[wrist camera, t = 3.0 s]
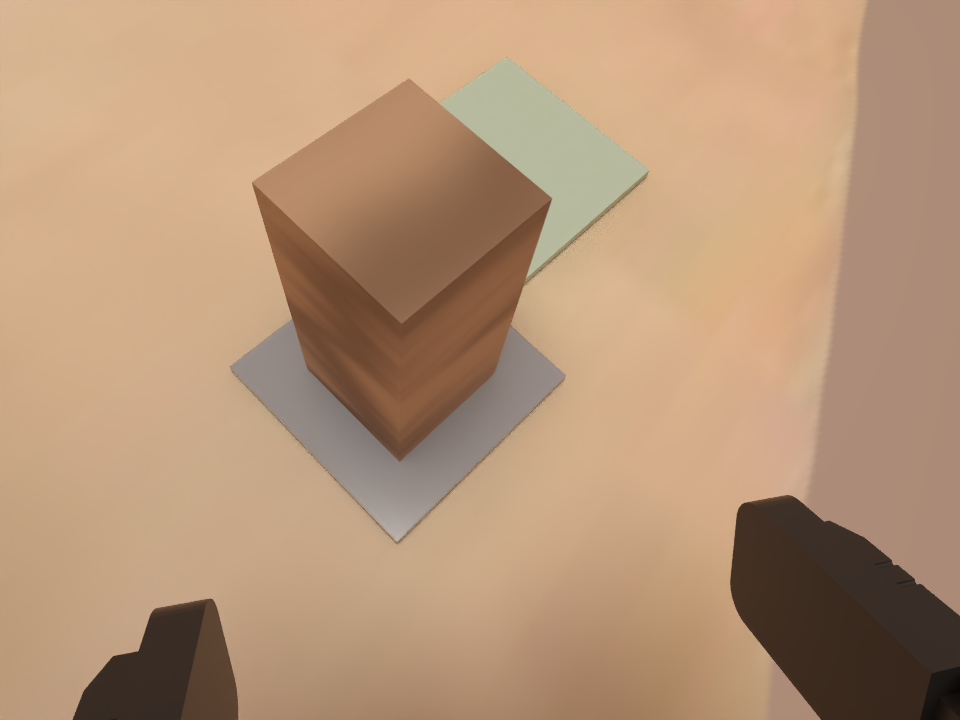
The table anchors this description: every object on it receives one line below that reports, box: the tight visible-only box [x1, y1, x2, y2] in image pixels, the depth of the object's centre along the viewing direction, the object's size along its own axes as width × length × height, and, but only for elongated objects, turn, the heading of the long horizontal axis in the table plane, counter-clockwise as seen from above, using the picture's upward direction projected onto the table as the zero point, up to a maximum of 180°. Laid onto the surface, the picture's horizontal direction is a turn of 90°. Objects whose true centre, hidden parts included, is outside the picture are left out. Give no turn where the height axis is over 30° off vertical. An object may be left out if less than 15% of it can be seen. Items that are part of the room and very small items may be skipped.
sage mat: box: [440, 57, 649, 284], centre depth 31 cm, size 9×9×1 cm
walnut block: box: [252, 79, 552, 462], centre depth 21 cm, size 5×5×11 cm
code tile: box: [230, 319, 566, 543], centre depth 27 cm, size 9×9×1 cm
